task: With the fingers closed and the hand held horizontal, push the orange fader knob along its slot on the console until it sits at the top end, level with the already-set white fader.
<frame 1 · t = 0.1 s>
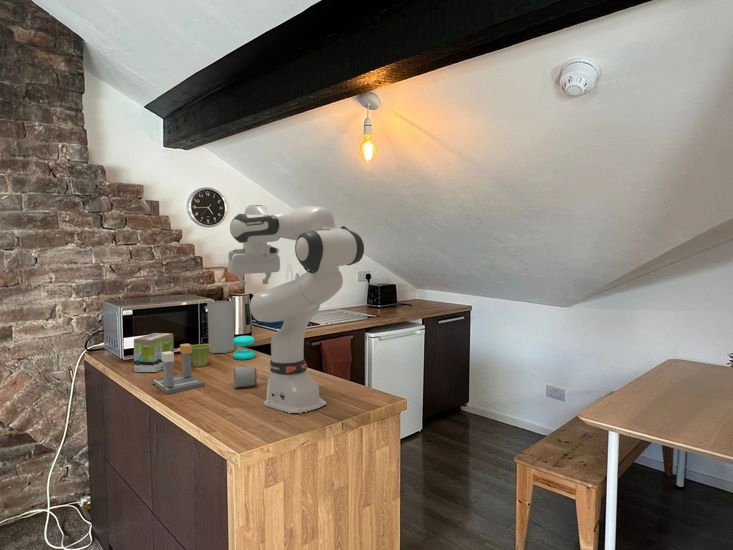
hand: (254, 284, 182), 39 cm above the countertop, tool pointing down, fingers open, 8 cm apart
ceramic mug: (244, 386, 185), on the countertop
white fader: (168, 369, 178), point 8 cm above the countertop, slide at 10.0 cm
plant pot: (200, 365, 216), on the countertop
orange fader: (186, 360, 192), point 8 cm above the countertop, slide at 0.0 cm
console: (177, 385, 186), on the countertop
tea box: (155, 369, 211), on the countertop
donuts: (244, 358, 228), on the countertop
cylinder vase: (221, 351, 243), on the countertop
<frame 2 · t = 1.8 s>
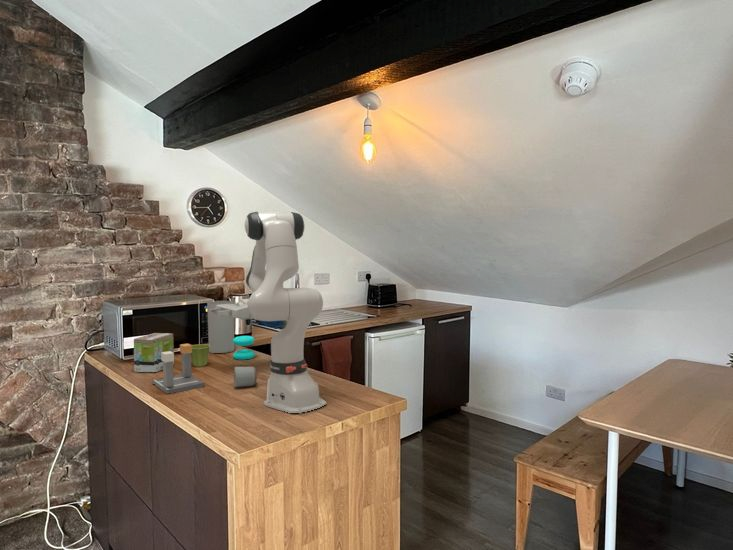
hand: (214, 312, 198), 26 cm above the countertop, tool horizontal, fingers open, 6 cm apart
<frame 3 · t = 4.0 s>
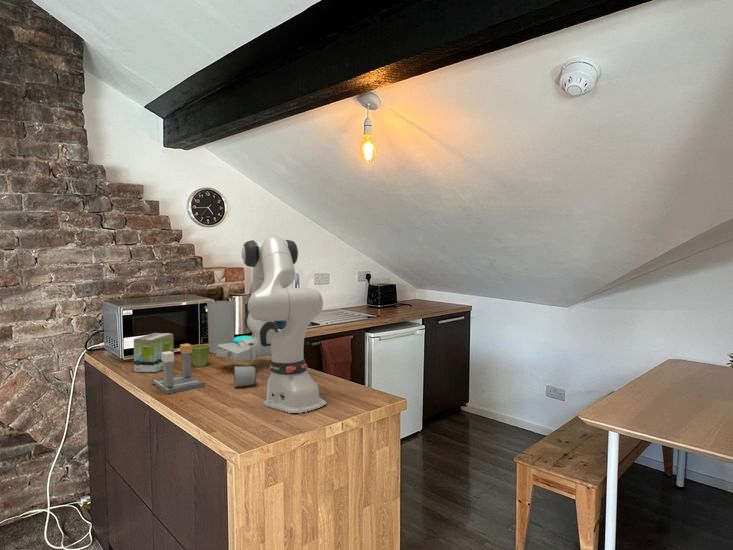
hand: (215, 354, 200), 8 cm above the countertop, tool horizontal, fingers closed
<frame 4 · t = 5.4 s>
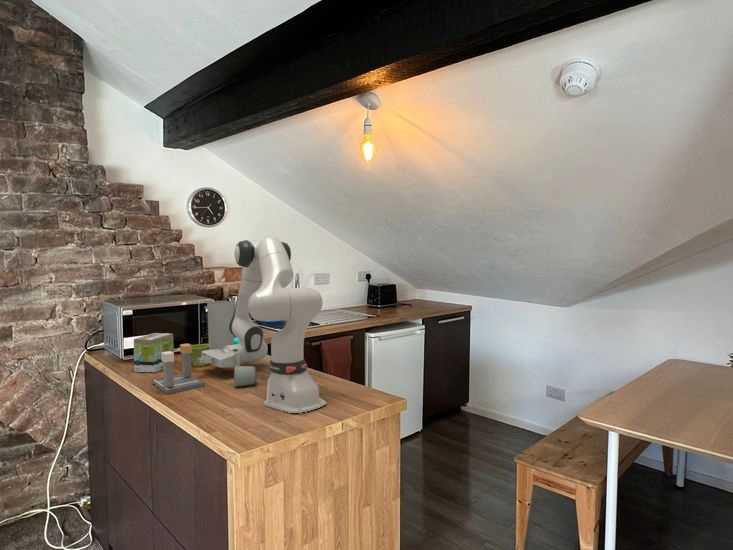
hand: (198, 361, 195), 7 cm above the countertop, tool horizontal, fingers closed
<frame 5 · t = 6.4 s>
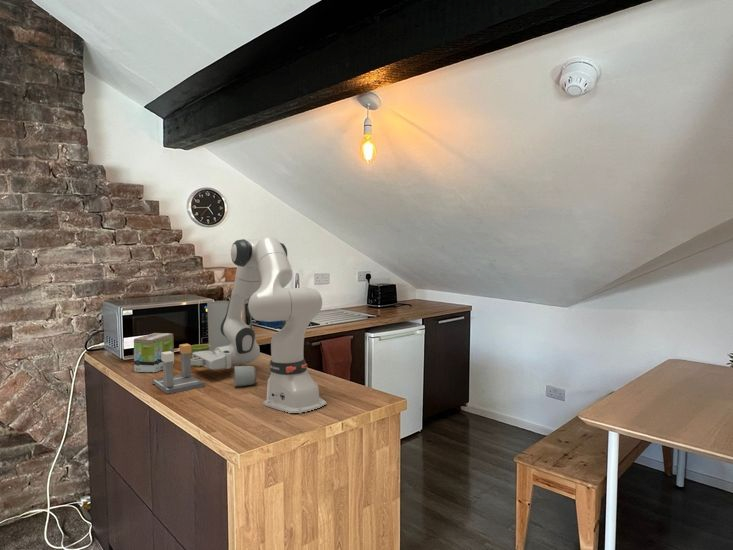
hand: (189, 362, 192), 7 cm above the countertop, tool horizontal, fingers closed, pressing on orange fader
orange fader: (185, 360, 191), point 8 cm above the countertop, slide at 0.2 cm, touching gripper
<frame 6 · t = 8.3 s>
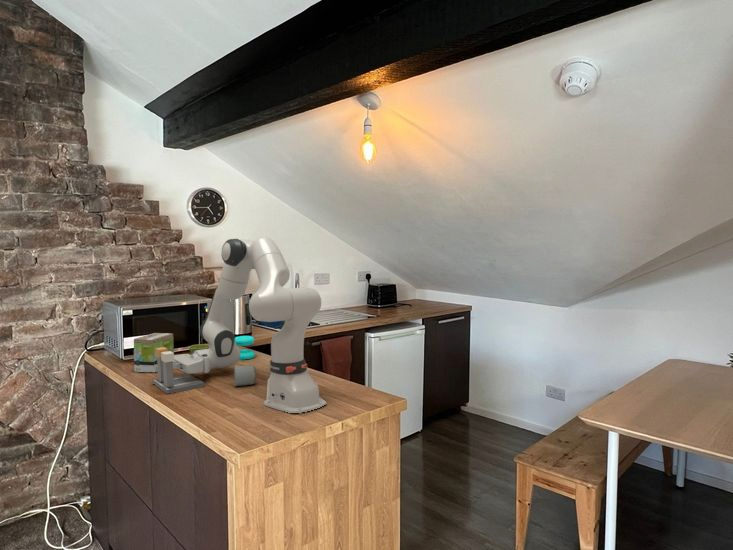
hand: (165, 366, 186), 7 cm above the countertop, tool horizontal, fingers closed, pressing on orange fader
orange fader: (162, 364, 185), point 8 cm above the countertop, slide at 9.4 cm, touching gripper
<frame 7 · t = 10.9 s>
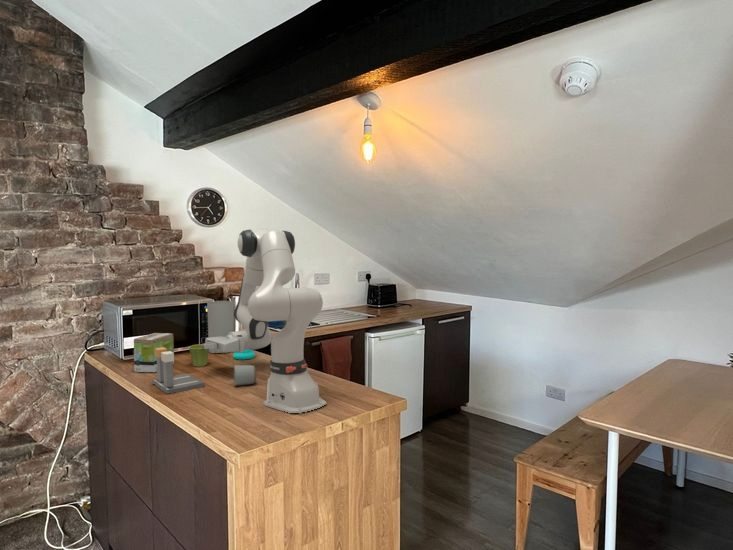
hand: (203, 346, 195), 13 cm above the countertop, tool horizontal, fingers closed
orange fader: (161, 364, 185), point 8 cm above the countertop, slide at 9.6 cm
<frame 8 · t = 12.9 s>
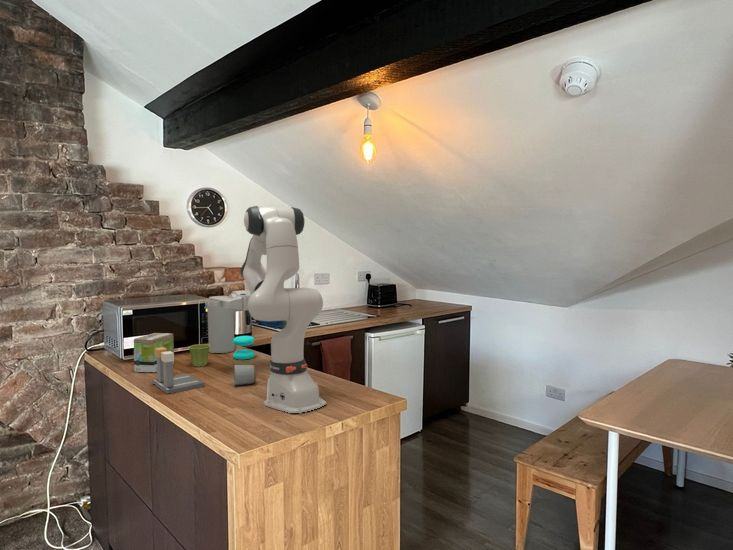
hand: (206, 304, 196), 30 cm above the countertop, tool horizontal, fingers closed
at the end: orange fader slide at 9.6 cm; white fader slide at 10.0 cm; orange fader touching nothing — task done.
